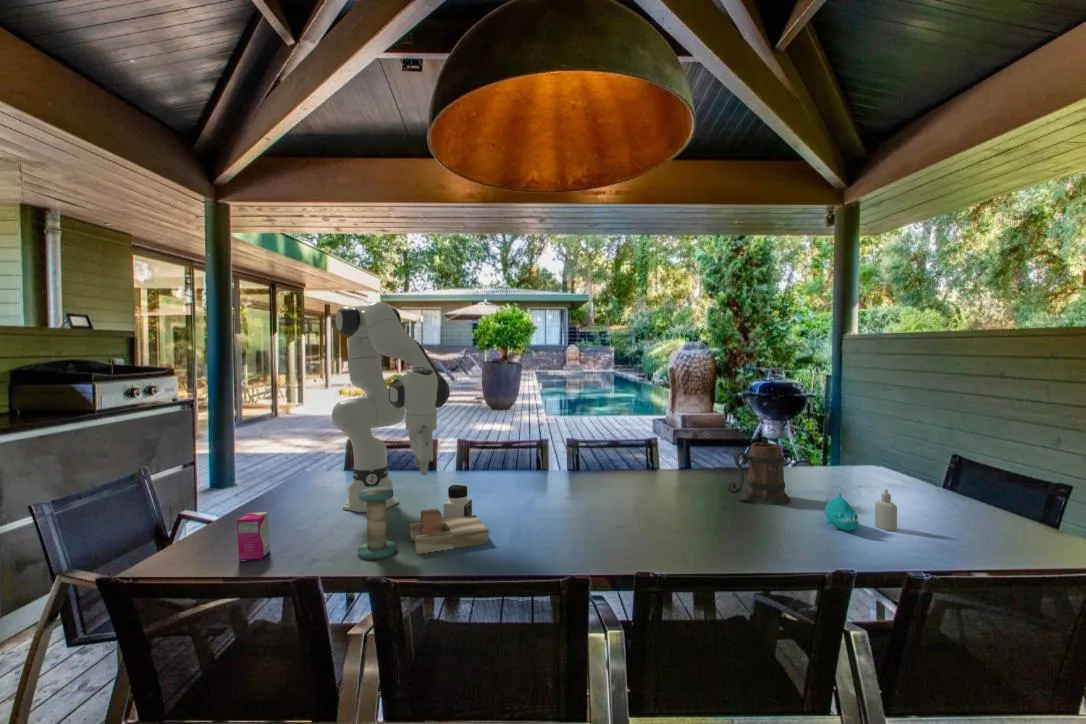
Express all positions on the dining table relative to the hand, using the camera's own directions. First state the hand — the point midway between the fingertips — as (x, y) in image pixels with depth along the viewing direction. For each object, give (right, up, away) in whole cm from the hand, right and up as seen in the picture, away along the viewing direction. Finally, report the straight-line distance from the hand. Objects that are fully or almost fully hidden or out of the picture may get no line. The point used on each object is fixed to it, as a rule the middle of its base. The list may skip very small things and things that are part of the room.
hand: (421, 470), depth 146 cm
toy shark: (+128, -20, +10) cm, 130 cm away
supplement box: (-43, -22, -10) cm, 49 cm away
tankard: (+115, -19, +39) cm, 123 cm away
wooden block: (+3, -21, -1) cm, 21 cm away
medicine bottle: (+8, -21, +16) cm, 27 cm away
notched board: (+8, -21, +1) cm, 22 cm away
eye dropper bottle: (+141, -20, +8) cm, 143 cm away
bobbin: (-10, -21, -8) cm, 25 cm away
